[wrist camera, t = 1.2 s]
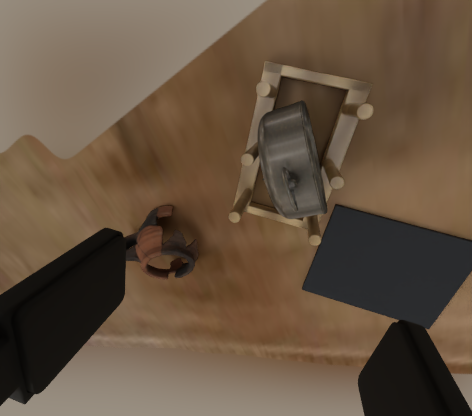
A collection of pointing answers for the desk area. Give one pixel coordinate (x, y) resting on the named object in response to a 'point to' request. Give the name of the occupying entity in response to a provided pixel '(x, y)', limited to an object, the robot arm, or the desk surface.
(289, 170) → the alarm clock
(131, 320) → the desk surface
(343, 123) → the dowel rack
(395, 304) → the desk mat
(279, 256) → the desk surface
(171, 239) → the pottery mug
